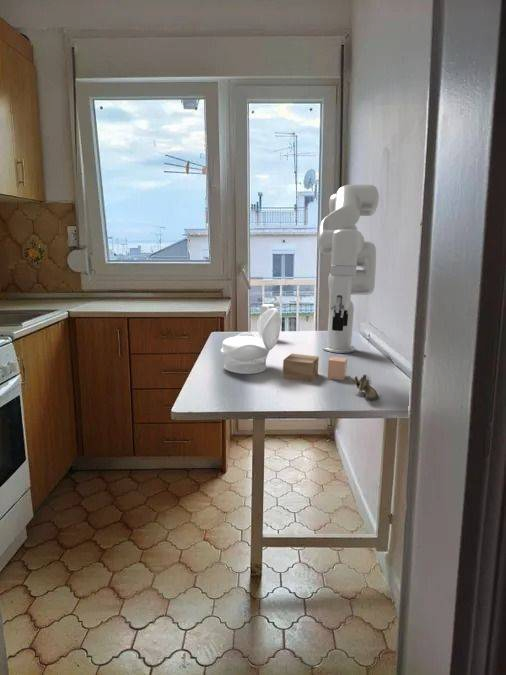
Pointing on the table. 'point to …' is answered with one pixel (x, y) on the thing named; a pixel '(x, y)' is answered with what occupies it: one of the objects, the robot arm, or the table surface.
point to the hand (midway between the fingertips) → (339, 328)
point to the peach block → (337, 368)
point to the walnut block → (300, 367)
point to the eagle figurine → (365, 387)
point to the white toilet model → (252, 345)
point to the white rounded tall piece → (266, 307)
